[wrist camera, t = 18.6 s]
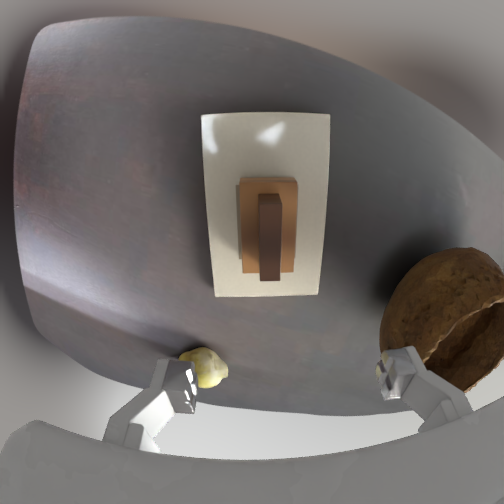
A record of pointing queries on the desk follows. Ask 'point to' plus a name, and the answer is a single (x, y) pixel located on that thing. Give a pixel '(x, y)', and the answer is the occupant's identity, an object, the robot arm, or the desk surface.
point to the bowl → (450, 315)
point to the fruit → (206, 366)
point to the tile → (265, 165)
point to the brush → (268, 225)
